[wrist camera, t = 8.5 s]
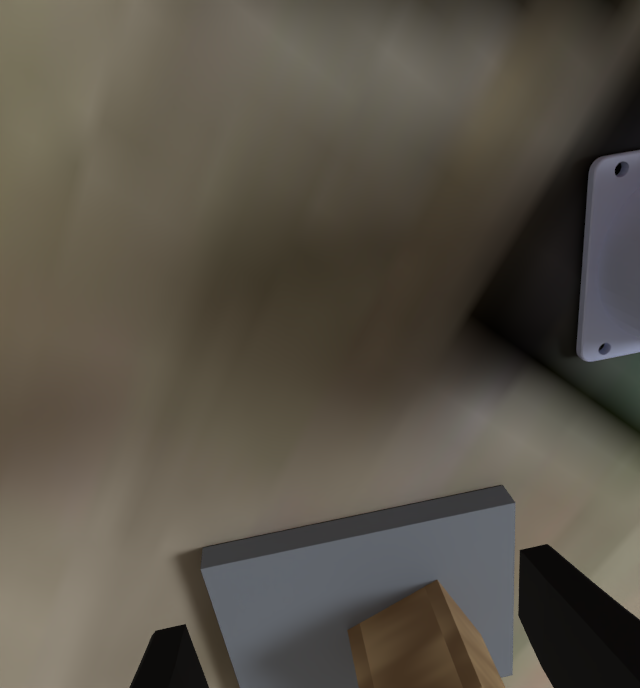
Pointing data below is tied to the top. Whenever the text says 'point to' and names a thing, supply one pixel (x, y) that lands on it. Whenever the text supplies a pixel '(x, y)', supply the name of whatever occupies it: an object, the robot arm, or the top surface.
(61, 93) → the top surface
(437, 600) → the wooden cubby box
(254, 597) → the flat gray board
